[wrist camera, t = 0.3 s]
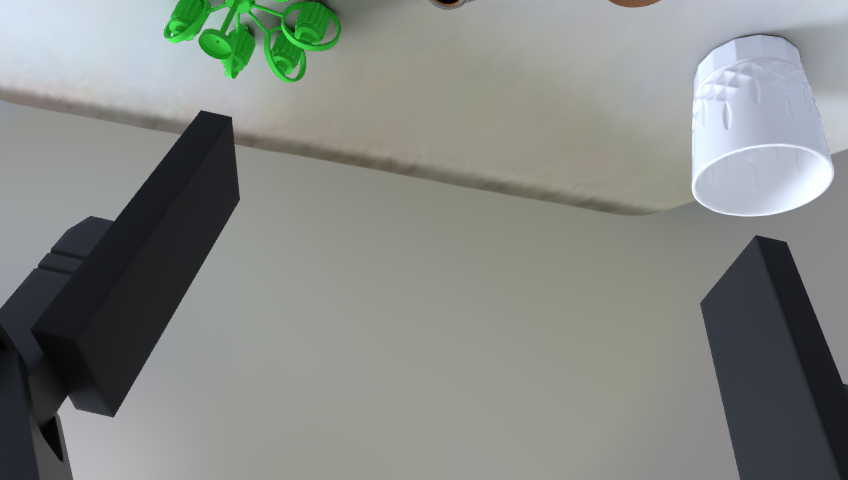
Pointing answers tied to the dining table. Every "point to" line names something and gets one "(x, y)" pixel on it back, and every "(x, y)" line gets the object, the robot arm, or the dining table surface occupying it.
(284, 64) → the chandelier
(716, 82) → the white cup
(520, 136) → the dining table surface
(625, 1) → the wooden spoon
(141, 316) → the robot arm
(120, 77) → the dining table surface
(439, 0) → the vase
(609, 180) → the dining table surface
